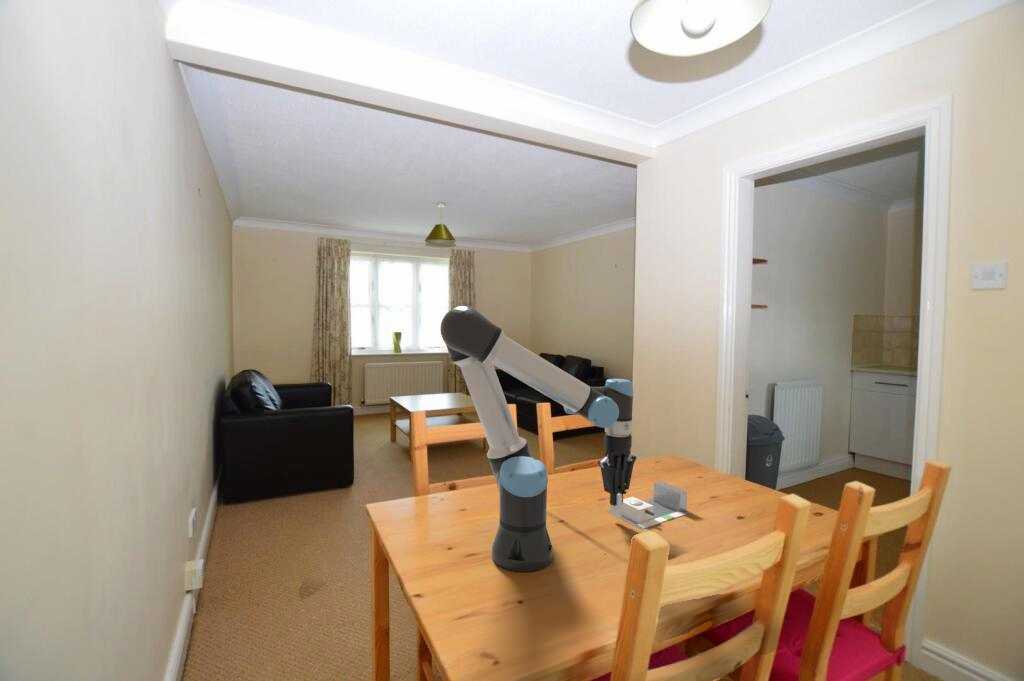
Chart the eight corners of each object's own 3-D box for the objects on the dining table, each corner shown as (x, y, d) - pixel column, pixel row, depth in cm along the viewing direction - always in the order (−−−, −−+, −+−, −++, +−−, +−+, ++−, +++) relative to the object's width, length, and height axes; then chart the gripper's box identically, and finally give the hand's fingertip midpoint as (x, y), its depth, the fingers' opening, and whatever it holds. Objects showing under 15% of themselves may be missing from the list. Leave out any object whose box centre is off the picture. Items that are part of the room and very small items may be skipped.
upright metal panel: (679, 512, 140) (680, 493, 140) (653, 501, 149) (654, 482, 149) (686, 510, 142) (687, 491, 142) (660, 499, 151) (660, 481, 150)
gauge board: (641, 533, 129) (641, 528, 129) (606, 515, 141) (606, 510, 141) (692, 516, 141) (692, 511, 140) (655, 500, 152) (655, 496, 152)
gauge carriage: (645, 527, 130) (646, 512, 130) (618, 513, 139) (618, 499, 139) (660, 522, 133) (660, 508, 133) (632, 509, 142) (632, 495, 142)
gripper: (610, 439, 125) (608, 525, 126) (644, 433, 132) (642, 515, 133) (591, 433, 131) (590, 515, 133) (624, 428, 138) (623, 506, 140)
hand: (616, 515), depth 133 cm, fingers closed
